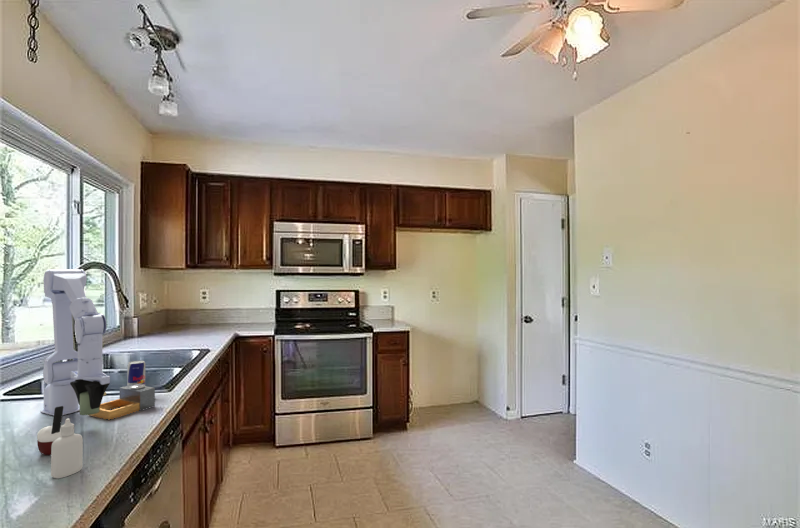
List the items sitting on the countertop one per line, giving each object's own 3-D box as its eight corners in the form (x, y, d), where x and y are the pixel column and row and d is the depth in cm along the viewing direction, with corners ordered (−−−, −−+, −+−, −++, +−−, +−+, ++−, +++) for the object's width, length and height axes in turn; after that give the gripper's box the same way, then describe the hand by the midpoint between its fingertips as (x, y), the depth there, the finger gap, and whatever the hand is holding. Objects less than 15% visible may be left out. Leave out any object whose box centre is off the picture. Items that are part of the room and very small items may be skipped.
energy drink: (136, 399, 153) (137, 364, 153) (123, 398, 154) (123, 363, 154) (148, 395, 159) (149, 360, 159) (135, 394, 160) (135, 360, 160)
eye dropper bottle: (50, 473, 100) (51, 418, 100) (82, 466, 103) (82, 413, 103) (50, 480, 96) (51, 424, 96) (83, 473, 100) (83, 419, 100)
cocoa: (41, 449, 113) (40, 401, 113) (72, 444, 116) (70, 397, 116) (32, 463, 105) (31, 410, 105) (65, 456, 108) (64, 406, 108)
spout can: (75, 413, 126) (76, 393, 126) (100, 406, 132) (100, 388, 132) (86, 416, 124) (86, 396, 124) (110, 409, 130) (110, 390, 130)
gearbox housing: (88, 415, 137) (88, 393, 137) (134, 402, 151) (134, 382, 151) (109, 420, 133) (109, 397, 133) (154, 406, 146) (154, 385, 146)
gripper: (59, 358, 127) (58, 406, 127) (91, 363, 120) (90, 414, 120) (85, 353, 133) (85, 400, 133) (117, 358, 127) (117, 407, 127)
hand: (89, 406), depth 127 cm, fingers closed on spout can, 5 cm apart
